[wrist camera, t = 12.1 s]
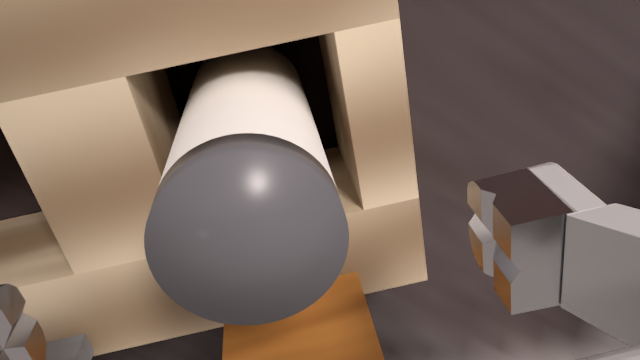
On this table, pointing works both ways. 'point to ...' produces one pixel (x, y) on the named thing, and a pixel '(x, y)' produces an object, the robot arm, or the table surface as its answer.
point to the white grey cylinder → (246, 197)
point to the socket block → (152, 153)
